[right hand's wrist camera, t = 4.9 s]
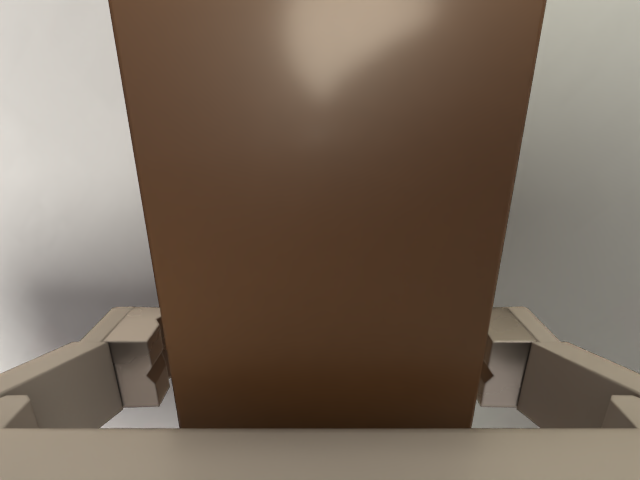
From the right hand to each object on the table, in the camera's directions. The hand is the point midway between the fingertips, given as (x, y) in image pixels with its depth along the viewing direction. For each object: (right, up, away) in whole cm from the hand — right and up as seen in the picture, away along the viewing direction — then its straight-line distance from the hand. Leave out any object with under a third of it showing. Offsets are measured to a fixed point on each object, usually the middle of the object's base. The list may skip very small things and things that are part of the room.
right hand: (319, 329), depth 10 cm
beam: (0, +24, -5) cm, 24 cm away
